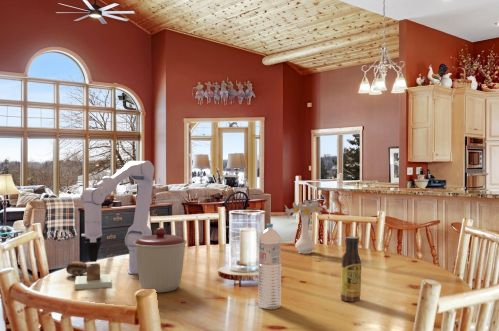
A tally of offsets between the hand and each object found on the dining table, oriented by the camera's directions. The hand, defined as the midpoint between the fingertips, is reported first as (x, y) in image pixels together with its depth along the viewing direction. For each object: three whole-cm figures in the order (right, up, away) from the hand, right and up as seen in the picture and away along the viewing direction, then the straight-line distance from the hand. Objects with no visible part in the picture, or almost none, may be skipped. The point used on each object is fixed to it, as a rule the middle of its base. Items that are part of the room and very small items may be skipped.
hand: (93, 259), depth 172 cm
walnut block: (0, -7, 0) cm, 7 cm away
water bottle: (+62, -9, -27) cm, 68 cm away
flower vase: (+82, -9, +59) cm, 102 cm away
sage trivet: (0, -9, 0) cm, 9 cm away
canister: (+25, -9, -7) cm, 28 cm away
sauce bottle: (+88, -9, -19) cm, 90 cm away
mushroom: (-10, -9, +12) cm, 18 cm away
